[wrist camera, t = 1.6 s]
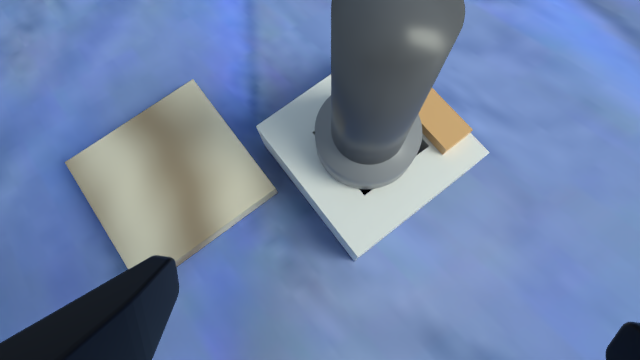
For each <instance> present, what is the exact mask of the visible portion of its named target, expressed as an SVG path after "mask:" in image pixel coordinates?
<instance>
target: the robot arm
mask: <svg viewBox="0 0 640 360" xmlns="http://www.w3.org/2000/svg"><path fill="white" fill-rule="evenodd" d="M178 293H179V282H178V275H177V268H176V263H175V260H174V259H173V258H172V257H167V256H160V255H154V256H151V257H149V258H147V259H146V260H144V261H142V262H140V263H139V264H137V265H135V266H133V267H132V268H130V269H128V270H126V271H125V272H123V273H121V274H120V275H118V276H116V277H114V278H113V279H111V280H109V281H107V282H106V283H104V284H102V285H100V286H99V287H97V288H95V289H93V290H92V291H90V292H88V293H86V294H85V295H83V296H81V297H80V298H78V299H76V300H74V301H73V302H71V303H69V304H67V305H66V306H64V307H62V308H60V309H59V310H57V311H55V312H53V313H52V314H50V315H48V316H46V317H45V318H43V319H41V320H40V321H38V322H36V323H34V324H33V325H31V326H29V327H27V328H26V329H24V330H22V331H20V332H19V333H17V334H15V335H13V336H12V337H10V338H8V339H6V340H5V341H3V342H1V343H0V360H152V358H153V356H154V353H155V351H156V349H157V346H158V344H159V341H160V339H161V336H162V334H163V331H164V329H165V326H166V324H167V321H168V319H169V317H170V314H171V312H172V309H173V307H174V304H175V302H176V299H177V297H178ZM606 360H640V323H637V322H627V323H625V324H623V326H622V327H621V328H620V330H619V331H618V332H617V334H616V335H615V337H614V338H613V340H612V341H611V342H610V344H609V345H608V347H607V349H606Z"/></svg>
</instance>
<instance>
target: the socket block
mask: <svg viewBox="0 0 640 360" xmlns="http://www.w3.org/2000/svg"><path fill="white" fill-rule="evenodd" d="M329 96H331V74H330V75H329V76H328V77H326V78H325V79H323V80H322V81H320V82H319V83H317V84H316V85H315V86H313V87H312V88H310V89H309V90H307V91H306V92H304V93H303V94H302V95H300V96H299V97H297V98H296V99H294V100H293V101H291V102H290V103H289V104H287V105H286V106H284V107H283V108H281V109H280V110H278V111H277V112H276V113H274V114H273V115H271V116H270V117H268V118H267V119H265V120H264V121H263V122H261V123H260V124H258V125H257V126H256V128H257V130H258V132H259V134H260V136H261V138H262V140H263V143H264V145H265V147H266V148H267V149H268V151H269V152H270V153H271V154H272V156H273V157H274V158H275V160H276V161H277V162H278V163H279V165H280V166H281V167H282V169H283V170H284V171H285V172H286V174H287V175H288V176H289V178H290V179H291V180H292V181H293V183H294V184H295V185H296V187H297V188H298V189H299V191H300V192H301V193H302V194H303V196H304V197H305V198H306V200H307V201H308V202H309V203H310V205H311V206H312V207H313V209H314V210H315V211H316V212H317V214H318V215H319V216H320V218H321V219H322V220H323V222H324V223H325V224H326V225H327V227H328V228H329V229H330V231H331V232H332V233H333V234H334V236H335V237H336V238H337V240H338V241H339V242H340V243H341V245H342V246H343V247H344V249H345V250H346V251H347V253H348V254H349V255H350V256H351V258H352V259H353V260H354V261H355V260H356V259H358V258H359V257H360V256H362V255H363V254H364V253H365V252H367V251H368V250H369V249H370V248H372V247H373V246H374V245H375V244H377V243H378V242H379V241H380V240H382V239H383V238H384V237H385V236H387V235H388V234H389V233H390V232H392V231H393V230H394V229H395V228H397V227H398V226H399V225H400V224H402V223H403V222H404V221H406V220H407V219H408V218H409V217H411V216H412V215H413V214H414V213H416V212H417V211H418V210H419V209H421V208H422V207H423V206H424V205H426V204H427V203H428V202H429V201H431V200H432V199H433V198H434V197H436V196H437V195H438V194H439V193H441V192H442V191H443V190H444V189H446V188H447V187H448V186H450V185H451V184H452V183H453V182H455V181H456V180H457V179H458V178H460V177H461V176H462V175H463V174H465V173H466V172H467V171H468V170H470V169H471V168H472V167H473V166H474V165H476V164H477V163H478V162H479V161H480V160H481V159H483V158H484V157H485V156H486V155H487V154H489V152H488V151H487V150H486V148H485V147H484V146H483V145H482V144H481V143H480V142H479V141H478V140H477V139H476V138H475V137H474V136H473V135H472V134H471V133H470V132H471V131H472V129H471V128H470V126H469V125H468V124H467V123H466V122H465V121H464V120H463V119H462V118H461V117H460V116H459V115H458V114H457V113H456V112H455V111H454V110H453V109H452V108H451V107H450V106H449V105H448V104H447V103H446V102H445V101H444V100H443V99H442V98H441V97H440V95H439V94H438V93H437V92H436V91H435V90H434V89H433V88H431V90H430V92H429V94H428V96H427V98H426V100H425V102H424V104H423V106H422V108H421V110H420V112H419V117H420V120H421V124H422V142H421V145H420V149H419V151H418V153H417V155H416V157H415V158H414V160H413V161H412V163H411V164H410V166H409V167H408V169H407V170H406V172H405V173H404V174H403V175H402V176H401V177H400V178H398V179H397V180H396V181H394V182H393V183H391V184H389V185H386V186H383V187H380V188H375V189H372V190H371V191H370V192H368V193H367V194H366V195H365V196H364V194H363V193H362V192H361V191H360V190H359V189H358V188H353V187H350V186H347V185H345V184H343V183H341V182H339V181H338V180H336V179H335V178H333V177H332V176H331V175H330V174H329V173H328V172H327V171H326V169H325V168H324V167H323V165H322V163H321V161H320V159H319V157H318V154H317V149H316V141H315V122H316V117H317V115H318V112H319V110H320V108H321V106H322V105H323V103H324V102H325V101H326V100H327V99H328V98H329Z"/></svg>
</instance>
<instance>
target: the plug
mask: <svg viewBox="0 0 640 360" xmlns="http://www.w3.org/2000/svg"><path fill="white" fill-rule="evenodd" d="M464 17H465V4H464V0H332V5H331V96H329V98H328V99H327V100H326V101H325V102H324V103H323V105H322V106H321V108H320V110H319V112H318V115H317V117H316V122H315V141H316V149H317V154H318V157H319V159H320V161H321V163H322V165H323V167H324V168H325V169H326V171H327V172H328V173H329V174H330V175H331V176H332V177H333V178H335V179H336V180H338V181H339V182H341V183H343V184H345V185H347V186H350V187H353V188H358V189H359V190H368V189H375V188H380V187H383V186H386V185H389V184H391V183H393V182H394V181H396V180H397V179H398V178H400V177H401V176H402V175H403V174H404V173H405V172H406V170H407V169H408V167H409V166H410V164H411V163H412V161H413V160H414V158H415V157H416V155H417V153H418V151H419V149H420V145H421V142H422V124H421V120H420V117H419V112H420V110H421V108H422V106H423V104H424V102H425V100H426V98H427V96H428V94H429V92H430V90H431V88H432V86H433V84H434V82H435V80H436V78H437V76H438V74H439V72H440V70H441V68H442V66H443V64H444V62H445V60H446V59H447V57H448V55H449V53H450V51H451V49H452V47H453V45H454V43H455V41H456V39H457V37H458V35H459V33H460V31H461V29H462V26H463V22H464Z"/></svg>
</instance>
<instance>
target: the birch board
mask: <svg viewBox="0 0 640 360" xmlns="http://www.w3.org/2000/svg"><path fill="white" fill-rule="evenodd" d="M65 163H66V165H67V167H68V168H69V170H70V172H71V173H72V175H73V177H74V179H75V180H76V182H77V184H78V185H79V187H80V189H81V190H82V192H83V194H84V195H85V197H86V199H87V200H88V202H89V204H90V206H91V207H92V209H93V211H94V212H95V214H96V216H97V217H98V219H99V221H100V222H101V224H102V226H103V227H104V229H105V231H106V233H107V234H108V236H109V238H110V239H111V241H112V243H113V244H114V246H115V248H116V249H117V251H118V253H119V254H120V256H121V258H122V260H123V261H124V263H125V265H126V266H127V268H128V269H130V268H132V267H133V266H135V265H137V264H139V263H140V262H142V261H144V260H146V259H147V258H149V257H151V256H154V255H160V256H167V257H172V258H173V259H174V260H175V263H176V267H177V266H178V265H180V264H181V263H183V262H184V261H185V260H187V259H188V258H189V257H191V256H192V255H193V254H195V253H196V252H198V251H199V250H200V249H202V248H203V247H204V246H206V245H207V244H209V243H210V242H211V241H213V240H214V239H215V238H217V237H218V236H219V235H221V234H222V233H224V232H225V231H226V230H228V229H229V228H230V227H232V226H233V225H234V224H236V223H237V222H239V221H240V220H241V219H243V218H244V217H245V216H247V215H248V214H249V213H251V212H252V211H254V210H255V209H256V208H258V207H259V206H260V205H262V204H263V203H264V202H266V201H267V200H269V199H270V198H271V197H273V196H274V195H275V194H277V193H278V192H277V190H276V188H275V187H274V186H273V184H272V183H271V182H270V180H269V179H268V178H267V176H266V175H265V174H264V172H263V171H262V170H261V169H260V167H259V166H258V165H257V163H256V162H255V161H254V159H253V158H252V157H251V155H250V154H249V153H248V151H247V150H246V149H245V147H244V146H243V145H242V143H241V142H240V141H239V139H238V138H237V137H236V135H235V134H234V133H233V131H232V130H231V129H230V128H229V126H228V125H227V124H226V122H225V121H224V120H223V118H222V117H221V116H220V114H219V113H218V112H217V110H216V109H215V108H214V106H213V105H212V104H211V102H210V101H209V100H208V98H207V97H206V96H205V94H204V93H203V92H202V90H201V89H200V88H199V86H198V85H197V84H196V83H195V81H194V80H193V79H192V80H191V81H189V82H188V83H186V84H185V85H183V86H182V87H180V88H178V89H177V90H175V91H174V92H172V93H171V94H169V95H168V96H166V97H165V98H163V99H162V100H160V101H158V102H157V103H155V104H154V105H152V106H151V107H149V108H148V109H146V110H145V111H143V112H142V113H140V114H138V115H137V116H135V117H134V118H132V119H131V120H129V121H128V122H126V123H125V124H123V125H122V126H120V127H118V128H117V129H115V130H114V131H112V132H111V133H109V134H108V135H106V136H105V137H103V138H102V139H100V140H98V141H97V142H95V143H94V144H92V145H91V146H89V147H88V148H86V149H85V150H83V151H82V152H80V153H78V154H77V155H75V156H74V157H72V158H71V159H69V160H68V161H66V162H65Z"/></svg>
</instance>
